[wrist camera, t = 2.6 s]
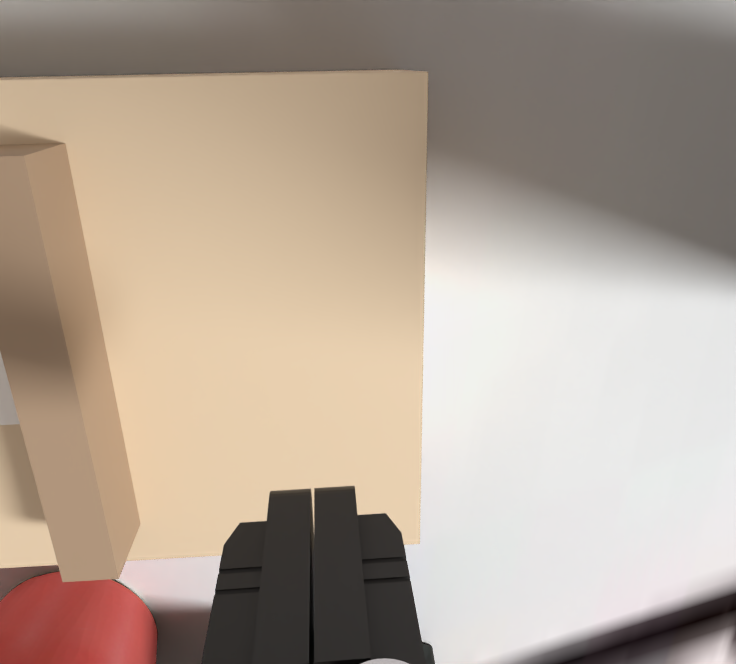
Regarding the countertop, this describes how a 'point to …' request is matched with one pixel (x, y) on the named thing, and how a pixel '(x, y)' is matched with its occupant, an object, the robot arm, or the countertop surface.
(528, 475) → the countertop surface
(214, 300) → the lid
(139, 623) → the flower pot
